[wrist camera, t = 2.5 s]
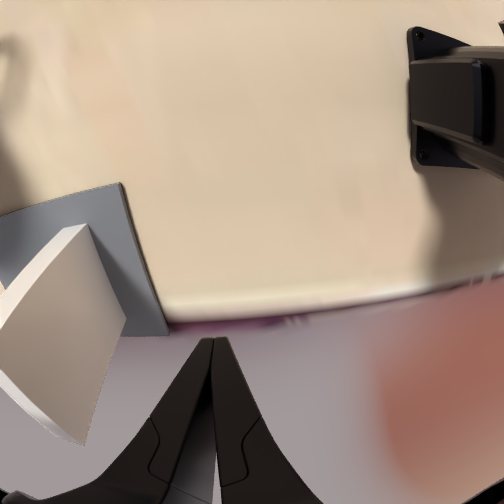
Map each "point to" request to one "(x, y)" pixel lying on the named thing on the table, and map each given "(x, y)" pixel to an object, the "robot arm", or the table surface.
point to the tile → (60, 334)
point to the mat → (106, 242)
